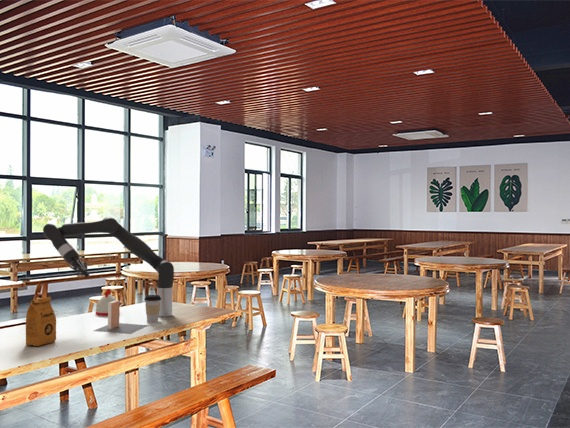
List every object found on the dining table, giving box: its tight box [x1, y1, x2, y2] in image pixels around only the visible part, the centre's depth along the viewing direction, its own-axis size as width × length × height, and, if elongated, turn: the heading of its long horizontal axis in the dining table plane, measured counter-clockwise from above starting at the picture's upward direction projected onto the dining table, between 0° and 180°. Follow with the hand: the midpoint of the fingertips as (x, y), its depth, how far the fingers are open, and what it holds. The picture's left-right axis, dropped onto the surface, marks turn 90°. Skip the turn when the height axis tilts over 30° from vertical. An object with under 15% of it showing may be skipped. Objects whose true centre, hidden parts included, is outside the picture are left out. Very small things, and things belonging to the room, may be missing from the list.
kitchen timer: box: [95, 288, 121, 317], centre depth 314 cm, size 14×14×15 cm
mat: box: [93, 322, 149, 335], centre depth 275 cm, size 22×20×1 cm
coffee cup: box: [144, 294, 161, 323], centre depth 293 cm, size 9×9×15 cm
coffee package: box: [25, 296, 57, 347], centre depth 243 cm, size 10×12×22 cm
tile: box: [107, 299, 121, 329], centre depth 276 cm, size 2×8×14 cm, turn 167°
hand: (88, 276), depth 279 cm, fingers closed
